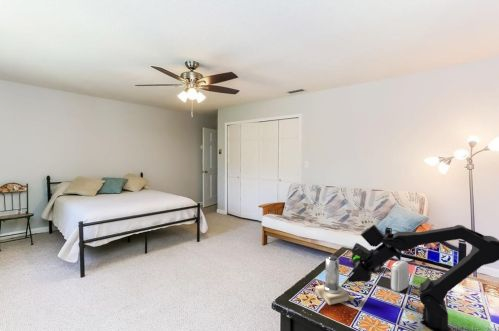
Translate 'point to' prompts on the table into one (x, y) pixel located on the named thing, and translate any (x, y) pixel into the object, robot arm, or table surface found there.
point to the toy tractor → (356, 260)
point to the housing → (332, 275)
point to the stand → (331, 295)
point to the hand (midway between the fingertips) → (350, 276)
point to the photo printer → (399, 275)
